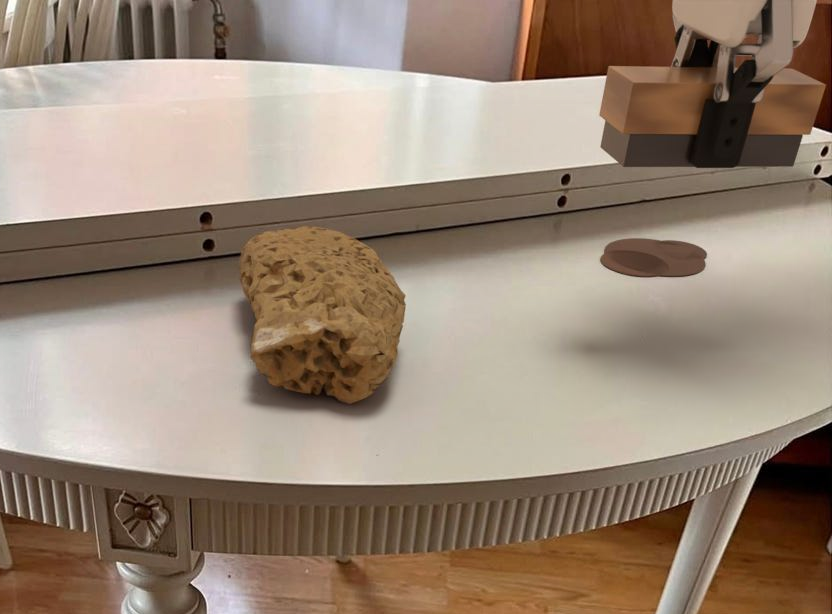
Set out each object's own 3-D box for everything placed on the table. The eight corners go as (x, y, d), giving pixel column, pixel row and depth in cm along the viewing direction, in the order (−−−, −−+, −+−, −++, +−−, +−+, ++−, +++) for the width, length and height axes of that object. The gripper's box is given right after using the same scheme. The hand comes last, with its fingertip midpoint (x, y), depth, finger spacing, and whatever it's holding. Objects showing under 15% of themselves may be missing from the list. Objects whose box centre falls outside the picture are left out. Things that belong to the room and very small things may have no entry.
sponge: (403, 429, 66) (420, 260, 79) (389, 331, 60) (409, 164, 73) (214, 439, 69) (259, 273, 81) (182, 345, 63) (236, 181, 75)
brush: (769, 147, 70) (792, 68, 67) (800, 166, 67) (826, 84, 63) (592, 147, 68) (608, 65, 65) (616, 167, 65) (633, 82, 61)
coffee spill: (691, 239, 95) (691, 238, 95) (732, 276, 88) (733, 275, 88) (580, 239, 93) (580, 238, 93) (613, 277, 86) (614, 275, 86)
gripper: (935, -181, 50) (811, 196, 61) (773, -194, 63) (695, 120, 74) (797, -189, 49) (697, 196, 60) (660, -200, 61) (599, 120, 73)
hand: (697, 151), depth 67 cm, fingers closed on brush, 4 cm apart
